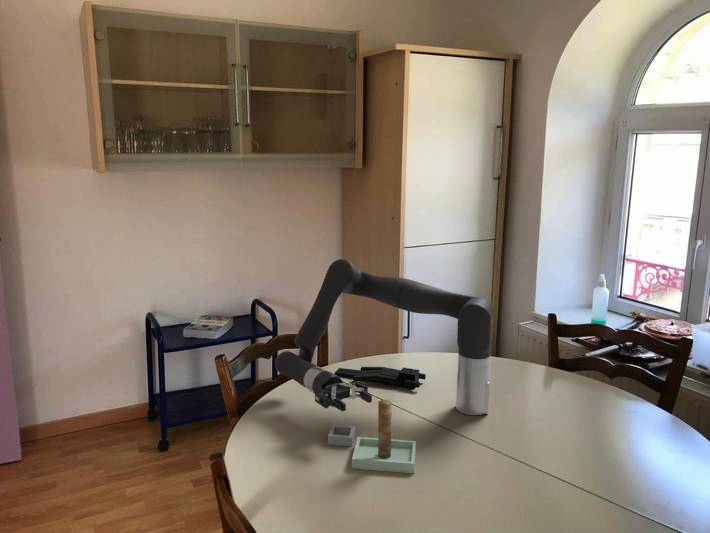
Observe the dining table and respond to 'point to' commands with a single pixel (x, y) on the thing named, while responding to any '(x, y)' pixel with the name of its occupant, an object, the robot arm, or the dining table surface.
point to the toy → (384, 375)
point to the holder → (342, 435)
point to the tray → (397, 462)
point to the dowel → (384, 428)
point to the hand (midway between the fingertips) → (358, 403)
